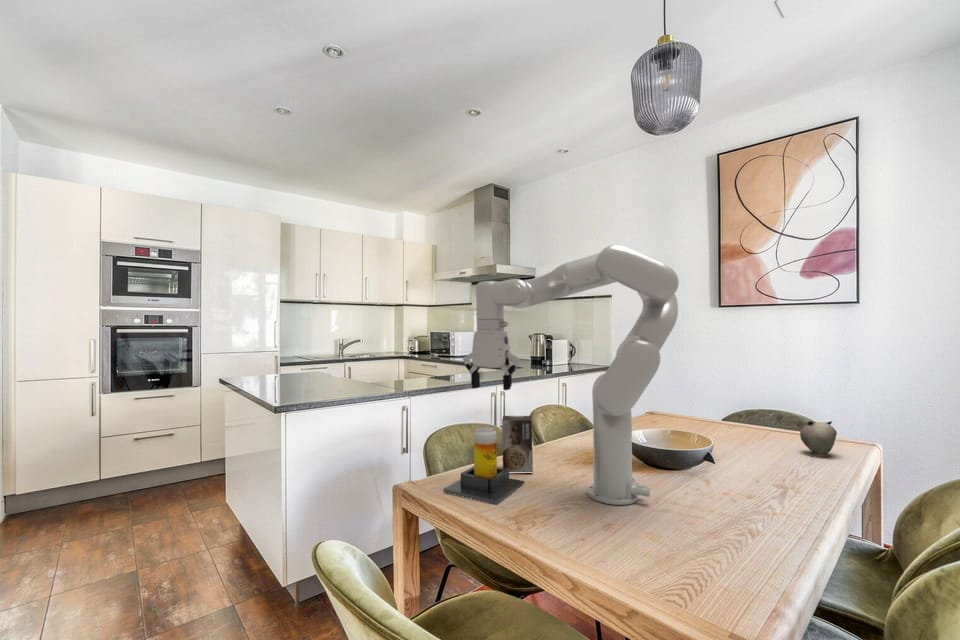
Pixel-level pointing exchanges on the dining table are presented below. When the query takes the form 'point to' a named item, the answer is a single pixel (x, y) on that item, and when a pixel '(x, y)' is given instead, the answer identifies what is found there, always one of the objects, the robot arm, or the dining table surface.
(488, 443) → the beer can
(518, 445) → the coffee box
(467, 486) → the mount
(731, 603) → the dining table surface
